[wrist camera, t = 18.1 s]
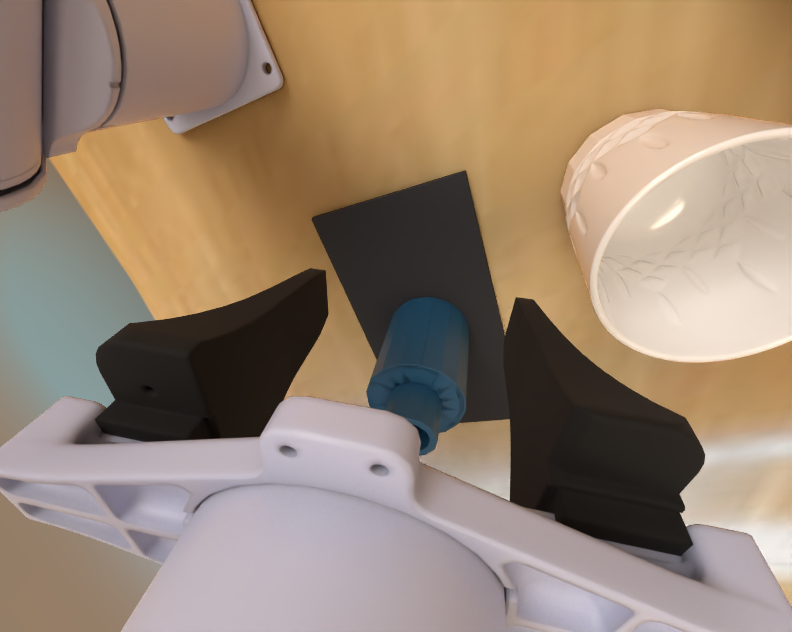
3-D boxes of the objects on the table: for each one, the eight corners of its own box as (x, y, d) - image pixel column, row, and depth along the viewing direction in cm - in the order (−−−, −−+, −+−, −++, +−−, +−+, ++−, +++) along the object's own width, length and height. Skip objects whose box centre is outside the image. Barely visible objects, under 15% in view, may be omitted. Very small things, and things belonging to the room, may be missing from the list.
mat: (313, 216, 24) (311, 219, 24) (465, 170, 21) (465, 172, 21) (408, 423, 34) (408, 427, 34) (523, 414, 31) (523, 418, 30)
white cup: (547, 256, 23) (581, 365, 15) (551, 112, 19) (602, 155, 11) (698, 242, 21) (835, 361, 13) (741, 77, 17) (984, 98, 9)
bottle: (375, 329, 28) (335, 432, 20) (425, 281, 25) (399, 381, 17) (432, 371, 29) (414, 483, 22) (486, 331, 26) (487, 444, 19)
